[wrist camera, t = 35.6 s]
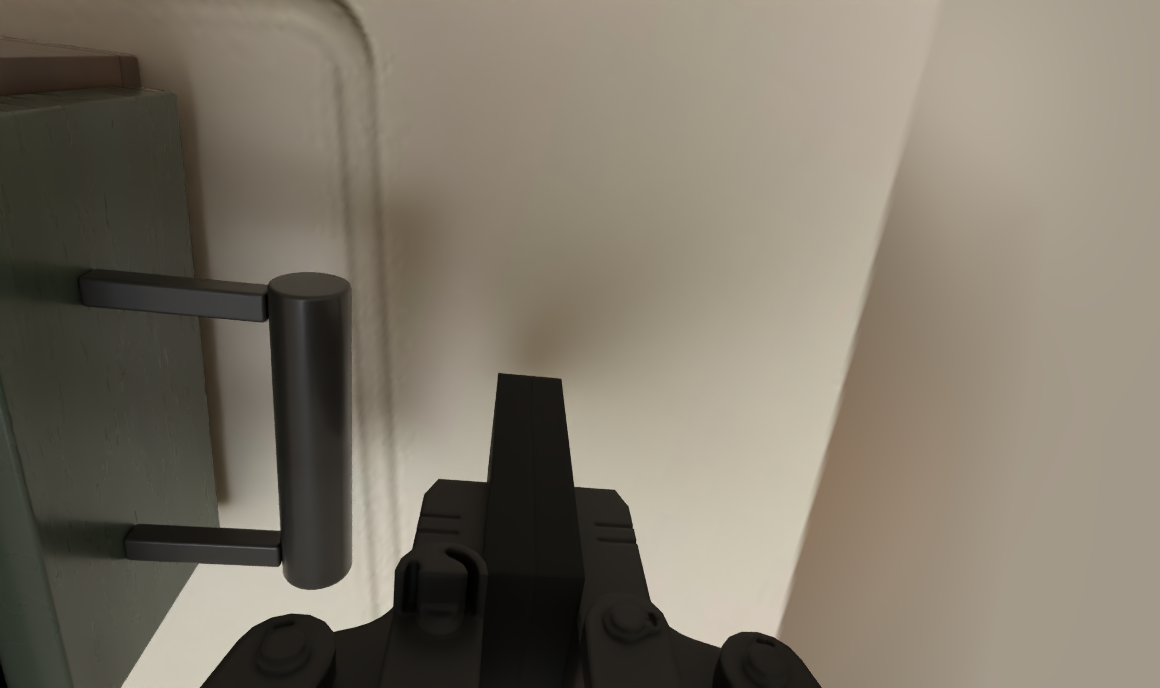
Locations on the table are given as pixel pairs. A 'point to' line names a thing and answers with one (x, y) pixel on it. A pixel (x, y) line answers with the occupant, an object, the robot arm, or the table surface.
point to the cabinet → (60, 77)
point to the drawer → (138, 392)
